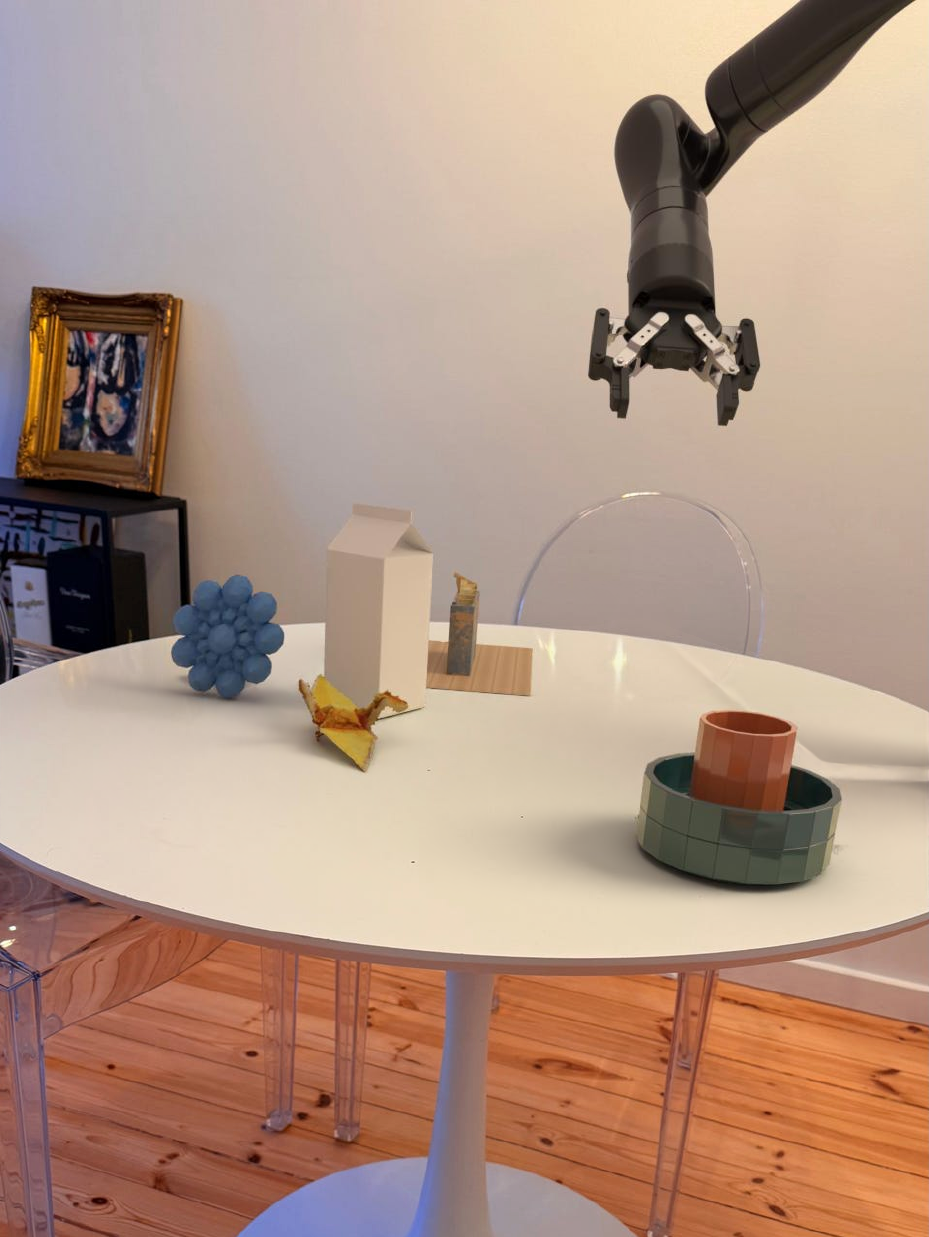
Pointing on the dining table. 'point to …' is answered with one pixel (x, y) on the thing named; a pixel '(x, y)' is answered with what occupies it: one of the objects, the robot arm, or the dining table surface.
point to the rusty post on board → (463, 626)
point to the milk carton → (378, 608)
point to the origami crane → (346, 717)
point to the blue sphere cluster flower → (227, 636)
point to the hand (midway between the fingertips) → (674, 415)
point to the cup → (743, 759)
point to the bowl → (737, 828)
